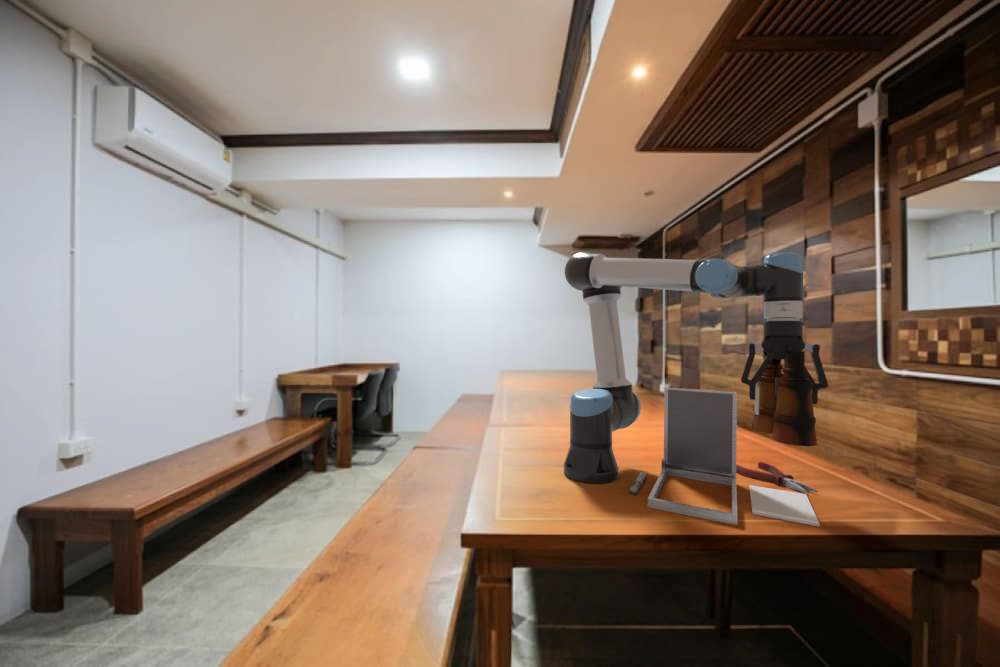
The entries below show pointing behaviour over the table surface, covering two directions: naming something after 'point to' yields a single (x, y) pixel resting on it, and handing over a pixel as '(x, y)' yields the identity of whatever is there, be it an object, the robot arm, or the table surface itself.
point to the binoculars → (786, 402)
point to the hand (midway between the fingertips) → (781, 415)
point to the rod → (637, 483)
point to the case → (699, 446)
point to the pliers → (773, 477)
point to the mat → (782, 505)
